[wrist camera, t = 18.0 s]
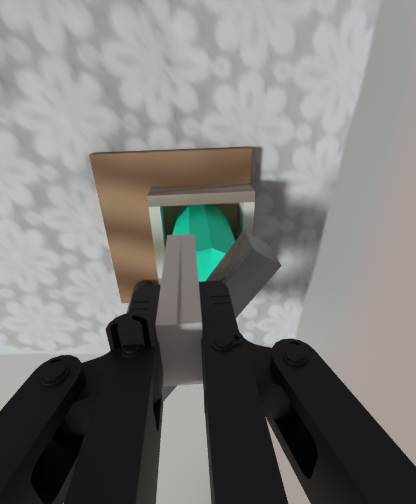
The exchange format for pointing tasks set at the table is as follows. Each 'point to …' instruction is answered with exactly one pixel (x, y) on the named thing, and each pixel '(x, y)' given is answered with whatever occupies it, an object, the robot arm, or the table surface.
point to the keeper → (239, 274)
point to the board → (166, 201)
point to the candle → (205, 235)
